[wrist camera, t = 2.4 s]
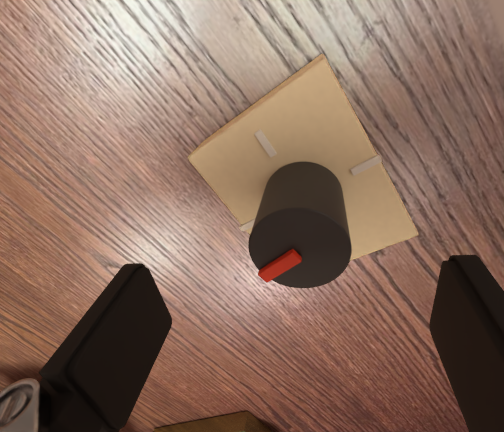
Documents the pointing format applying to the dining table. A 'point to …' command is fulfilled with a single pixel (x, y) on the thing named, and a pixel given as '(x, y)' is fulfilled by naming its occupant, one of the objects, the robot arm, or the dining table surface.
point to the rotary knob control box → (305, 156)
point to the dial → (301, 227)
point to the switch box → (220, 424)
